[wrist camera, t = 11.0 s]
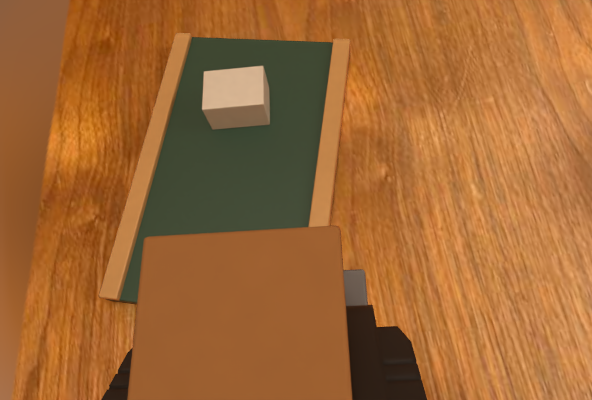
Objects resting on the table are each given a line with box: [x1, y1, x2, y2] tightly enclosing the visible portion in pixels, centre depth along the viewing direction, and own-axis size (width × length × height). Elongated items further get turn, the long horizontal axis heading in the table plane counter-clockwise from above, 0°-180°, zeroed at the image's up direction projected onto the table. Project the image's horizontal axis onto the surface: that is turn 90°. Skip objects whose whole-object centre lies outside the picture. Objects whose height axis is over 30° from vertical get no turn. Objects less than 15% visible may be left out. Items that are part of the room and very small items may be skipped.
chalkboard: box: [99, 33, 350, 304], centre depth 30 cm, size 13×20×1 cm, turn 172°
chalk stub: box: [202, 66, 270, 130], centre depth 30 cm, size 4×3×2 cm
